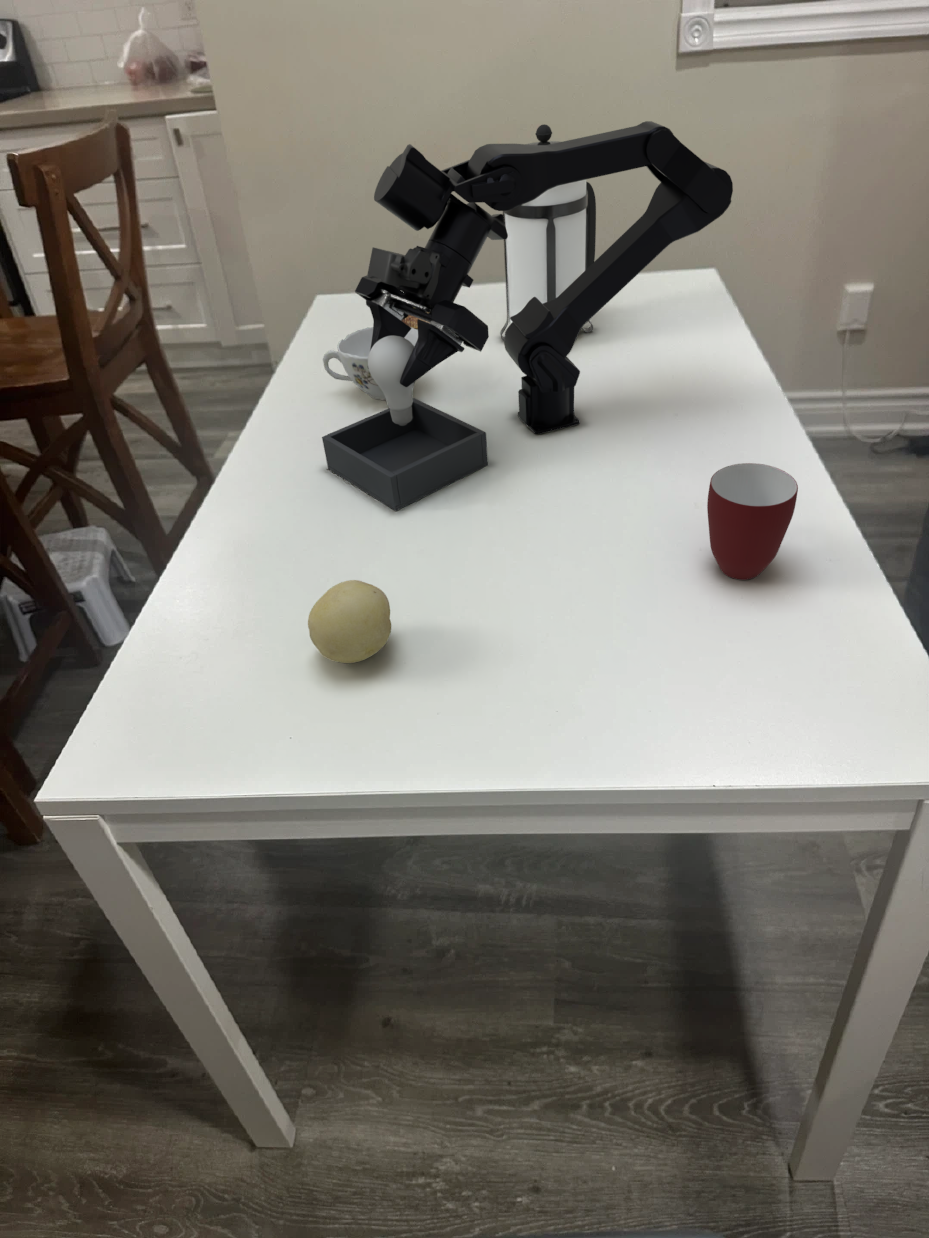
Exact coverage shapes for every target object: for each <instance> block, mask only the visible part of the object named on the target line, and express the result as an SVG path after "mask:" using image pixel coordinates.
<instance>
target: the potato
mask: <svg viewBox="0 0 929 1238" xmlns="http://www.w3.org/2000/svg"><path fill="white" fill-rule="evenodd" d="M307 628H308V631H309V633H308V634H309V638H310V641H311V642H312V644H313V645H314V646H315V648H316V649H317V650H318V652H319V654H321V656H322V657H324V658H326V659H328V660H330V661H333V662H336V663H341V664H352V663H353V664H354V663H359V662H362V661H364V660H366V659H369V658H370V657H372V656H374V655H376V654H377V653H378V652H379V651H380V650H382V649H383V648H384V646H385V645H386V644H387V643H388V640H389V639H390V636H391V634H392V622H391V606H390V601H389V598H388V597H387V594H386V593H385V592H384V591H383V590H382V589H380V588H379V587H378V586H375V585H373V584H370V583H368V582H365V581H362V580H358V579H350V580H345V581H341V582H339V583H337V584H335V585H333V586H332V587H330V588H329V589H328V590H327V591H326V592H324V593H323V594H322V596H320V598H319V599H317V601H316V602H315V603H314V604H313V606H312V608H311V610H310V611H309V614H308V618H307Z"/></svg>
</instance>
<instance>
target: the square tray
mask: <svg viewBox="0 0 929 1238" xmlns="http://www.w3.org/2000/svg"><path fill="white" fill-rule="evenodd" d="M411 406H412V420H411V421H410V422H409V423H407V424H406V425H404V426H400V425H399V424H396V423H394V422H393V421H392V417H391V413H390V408H389V407H388V408H386V409H384V410H382V411H378V412H377V413H374V414H372V415H369V416H367V417H365V418H363V419H361V420H358V421H356V422H353V423H351V424H348V425H347V426H344V427H342V428H339V429H337V430H335V431H333V432H330V433H328V434H325V435H323V436H322V437H321V439H322V445H323V450H324V455H325V460H326V464H327V470H328V471H331V472H332V473H334V474H335V475H337V476H338V477H340V478H341V479H344V480H345V481H346V482H348V483H350V484H351V485H353V486H355V487H356V488H357V489H359V490H361V491H362V492H364V493H366V494H367V495H369V496H370V497H372V498H374V499H375V500H377V501H378V502H380V503H382V504H383V505H385V506H386V507H389V509H391V510H393V511H395V512H397V511H399V510H401V509H403V508H405V507H407V506H409V505H411V504H413V503H415V502H417V501H419V500H421V499H423V498H425V497H427V496H430V495H431V494H433V493H435V492H437V491H439V490H442V489H443V488H445V487H447V486H450V485H451V484H453V483H456V482H457V481H459V480H461V479H463V478H465V477H467V476H469V475H471V474H473V473H475V472H477V471H480V470H482V469H483V468H485V467H487V466H489V461H488V460H489V459H488V443H487V432H486V431H485V430H482V429H480V428H478V427H476V426H474V425H472V424H469V423H468V422H466V421H464V420H461V419H460V418H457V417H456V416H453V415H451V414H449V413H447V412H444V411H443V410H440V409H438V408H436V407H435V406H433V405H430V404H428V403H426V402H424V401H421V400H420V399H417V398H415V397H413V403H412V405H411Z"/></svg>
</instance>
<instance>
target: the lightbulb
mask: <svg viewBox="0 0 929 1238" xmlns="http://www.w3.org/2000/svg"><path fill="white" fill-rule="evenodd" d="M413 348H414V345H413V344H412V343H411V342H410V341H409V340H407V339H405V338H403V337H400V336H387V337H384V338H382V339H380V340H379V341H378V342H376V343H375V344H374V346H373V347H372V349H371V351H370V353H369V357H368V368H369V371H370V374H371V376H372V378H373V379H374V380H375V382H376V383H377V384H378V386H379V387H380V388H381V390H382V391H383V393H384V395H385V398H386V400H385V401H386V406H387V407H388V408H390V413H391V417H392V421H393V422H394V423H396V424H399V425H400V426H404V425H406V424H407V423H409V422H410V421H411V420H412V406H411V405H412V403H413V398H414V397H413V392H414V387H415V383H416V381H415V382H414V383H412V384H411V385H410V386H408V387H404V386H403V385H401V384H400V379H401V376H402V374H403V371H404V368H405V366H406V364H407V362H408V360H409V357H410V355H411V353H412V351H413Z"/></svg>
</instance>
